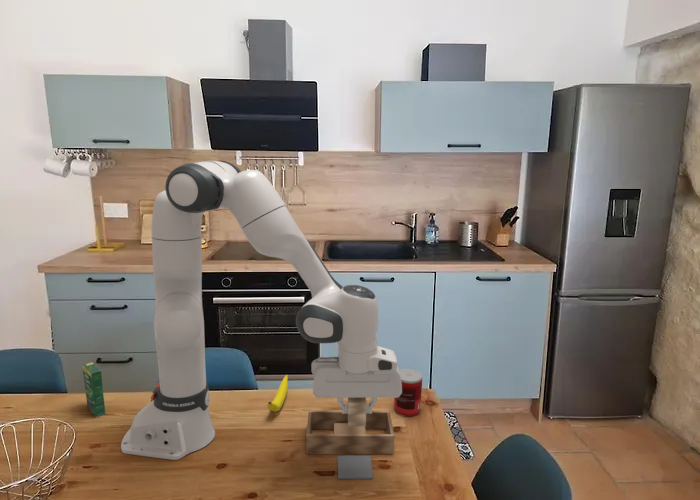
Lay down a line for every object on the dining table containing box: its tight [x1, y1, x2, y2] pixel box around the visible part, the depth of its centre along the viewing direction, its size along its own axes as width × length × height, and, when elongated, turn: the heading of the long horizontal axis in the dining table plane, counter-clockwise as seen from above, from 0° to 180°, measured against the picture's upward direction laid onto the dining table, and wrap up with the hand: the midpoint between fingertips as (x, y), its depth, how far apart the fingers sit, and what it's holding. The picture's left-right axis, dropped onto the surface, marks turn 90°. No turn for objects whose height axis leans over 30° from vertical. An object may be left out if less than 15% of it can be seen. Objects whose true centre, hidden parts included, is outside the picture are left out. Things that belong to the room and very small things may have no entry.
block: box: [347, 398, 367, 427], centre depth 115 cm, size 4×4×6 cm
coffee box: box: [81, 361, 106, 418], centre depth 139 cm, size 8×3×13 cm, turn 43°
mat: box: [337, 455, 374, 480], centre depth 118 cm, size 8×8×1 cm
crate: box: [305, 410, 395, 455], centre depth 129 cm, size 22×12×5 cm, turn 92°
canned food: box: [393, 368, 423, 417], centre depth 143 cm, size 8×8×11 cm
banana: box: [267, 374, 289, 412], centre depth 144 cm, size 3×19×6 cm, turn 173°
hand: (356, 412), depth 115 cm, fingers closed on block, 4 cm apart
